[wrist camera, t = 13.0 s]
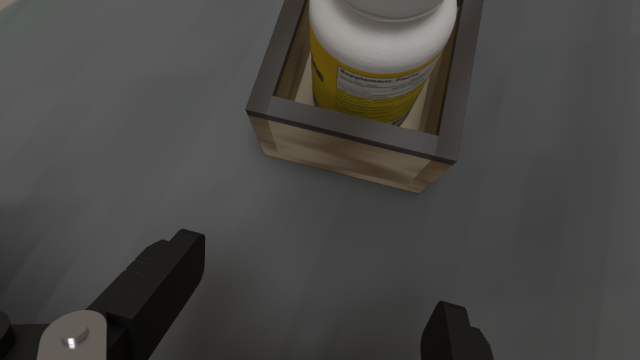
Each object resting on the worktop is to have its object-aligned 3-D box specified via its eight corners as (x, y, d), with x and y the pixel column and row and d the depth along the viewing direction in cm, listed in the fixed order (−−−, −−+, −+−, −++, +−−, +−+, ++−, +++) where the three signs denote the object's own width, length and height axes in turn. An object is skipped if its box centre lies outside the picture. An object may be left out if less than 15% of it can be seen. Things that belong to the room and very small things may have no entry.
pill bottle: (322, 51, 23) (324, -144, 13) (414, 66, 23) (497, -120, 12) (302, 135, 21) (287, -8, 11) (402, 153, 21) (486, 24, 11)
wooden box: (445, 58, 24) (485, -13, 18) (419, 193, 22) (456, 161, 16) (306, 27, 25) (302, -51, 19) (265, 154, 22) (245, 109, 16)
